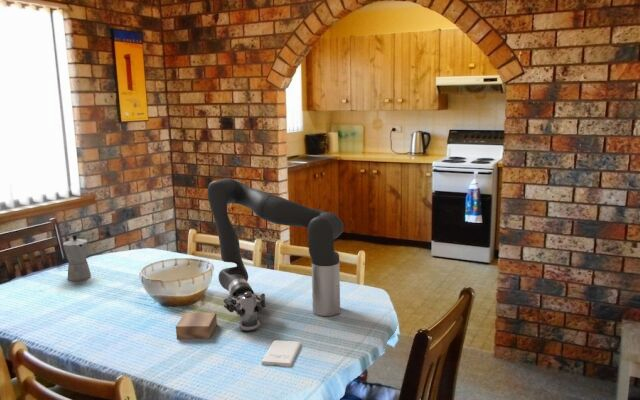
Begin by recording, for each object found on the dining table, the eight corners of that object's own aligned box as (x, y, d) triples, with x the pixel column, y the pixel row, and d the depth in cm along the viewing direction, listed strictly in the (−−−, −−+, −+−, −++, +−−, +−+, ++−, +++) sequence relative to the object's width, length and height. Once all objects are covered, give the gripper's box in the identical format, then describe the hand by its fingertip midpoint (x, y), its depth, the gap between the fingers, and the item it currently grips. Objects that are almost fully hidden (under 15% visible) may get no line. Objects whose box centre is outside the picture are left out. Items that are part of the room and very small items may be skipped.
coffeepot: (97, 278, 215) (92, 235, 211) (73, 284, 208) (68, 240, 205) (82, 269, 226) (78, 229, 222) (59, 275, 219) (54, 233, 216)
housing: (261, 321, 169) (259, 288, 167) (258, 330, 163) (256, 296, 160) (241, 322, 169) (239, 289, 167) (237, 331, 163) (235, 296, 161)
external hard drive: (300, 347, 154) (290, 368, 142) (273, 345, 156) (261, 366, 144) (300, 341, 154) (290, 362, 142) (273, 339, 156) (261, 360, 144)
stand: (216, 324, 169) (216, 312, 169) (209, 338, 160) (208, 326, 159) (186, 324, 170) (185, 312, 169) (176, 338, 160) (175, 326, 159)
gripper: (218, 284, 175) (226, 303, 159) (261, 279, 179) (272, 296, 163) (220, 305, 177) (227, 326, 161) (262, 299, 181) (273, 319, 165)
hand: (250, 311), depth 162 cm, fingers closed on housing, 5 cm apart
